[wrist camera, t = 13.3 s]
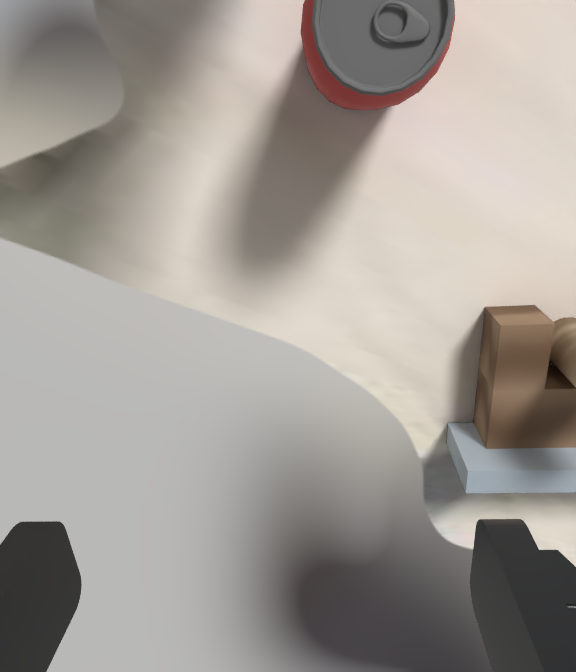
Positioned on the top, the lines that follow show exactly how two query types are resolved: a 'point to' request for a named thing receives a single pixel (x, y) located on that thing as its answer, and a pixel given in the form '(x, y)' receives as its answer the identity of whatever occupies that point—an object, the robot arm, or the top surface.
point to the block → (522, 383)
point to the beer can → (374, 48)
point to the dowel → (565, 348)
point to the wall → (509, 465)
